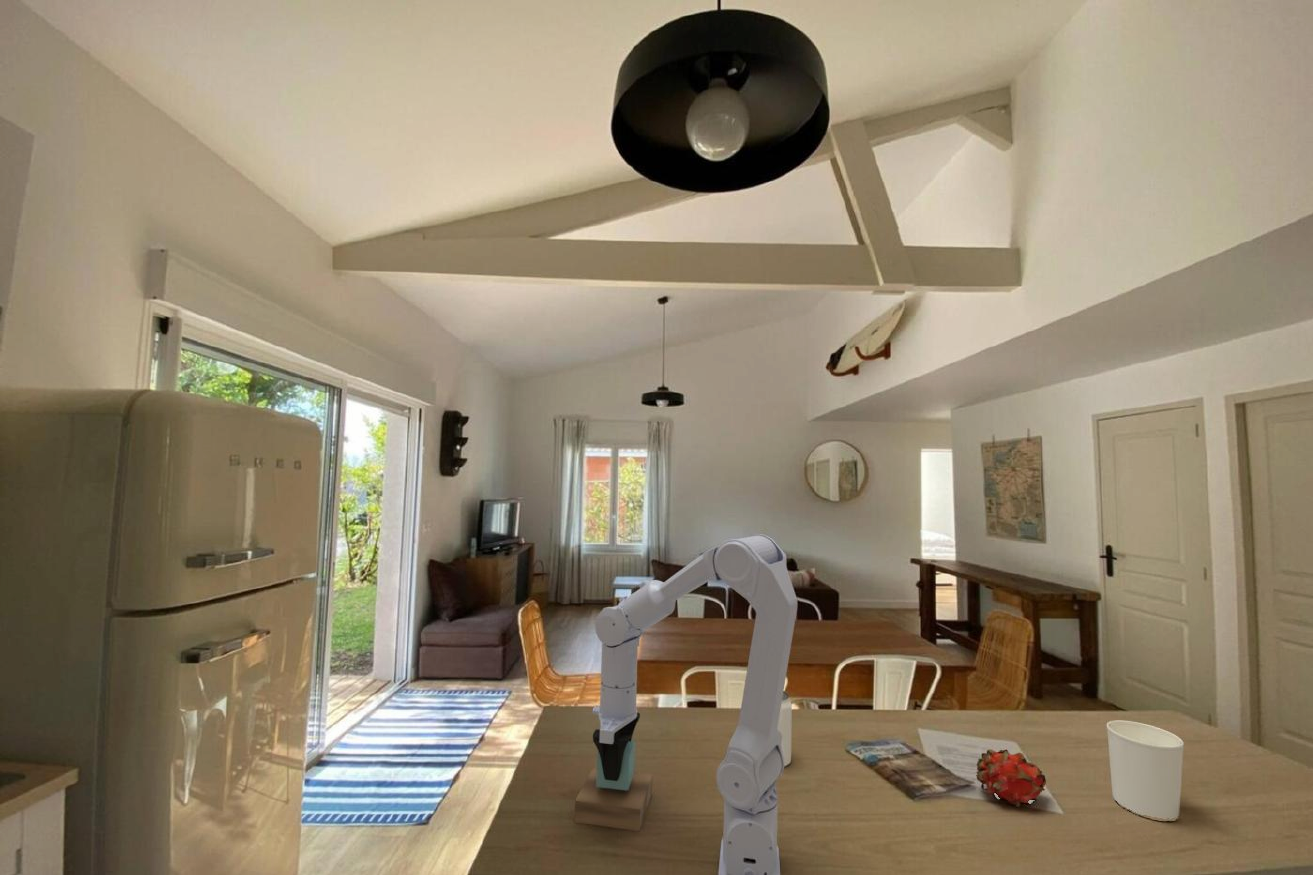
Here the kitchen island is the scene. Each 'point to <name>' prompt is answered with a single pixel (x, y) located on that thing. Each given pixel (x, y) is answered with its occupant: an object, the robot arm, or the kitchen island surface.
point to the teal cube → (625, 773)
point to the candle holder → (1145, 768)
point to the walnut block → (614, 803)
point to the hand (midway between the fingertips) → (616, 769)
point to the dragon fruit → (1010, 776)
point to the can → (785, 727)
